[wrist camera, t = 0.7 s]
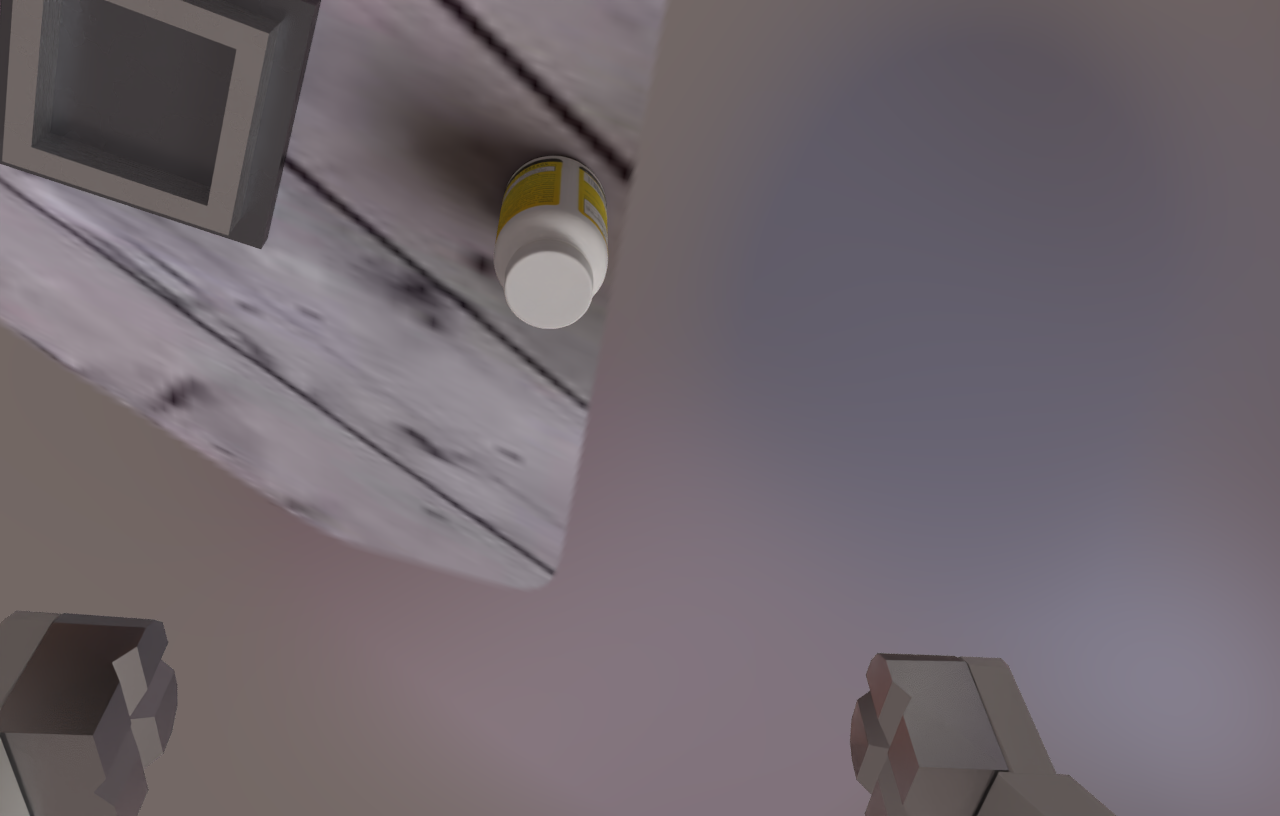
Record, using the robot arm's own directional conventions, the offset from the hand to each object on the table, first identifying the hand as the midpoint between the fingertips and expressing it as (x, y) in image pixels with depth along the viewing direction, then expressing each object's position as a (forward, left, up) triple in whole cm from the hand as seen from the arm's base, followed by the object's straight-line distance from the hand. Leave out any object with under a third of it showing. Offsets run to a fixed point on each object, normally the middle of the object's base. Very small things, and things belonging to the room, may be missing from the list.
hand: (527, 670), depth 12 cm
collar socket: (+13, -17, -42) cm, 47 cm away
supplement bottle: (+12, +3, -42) cm, 44 cm away
